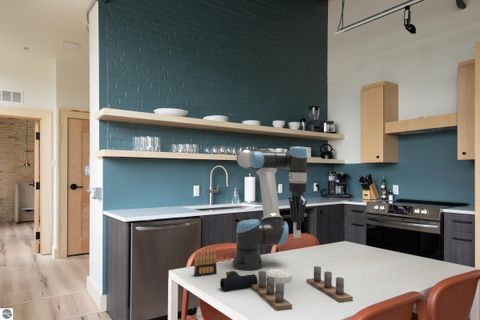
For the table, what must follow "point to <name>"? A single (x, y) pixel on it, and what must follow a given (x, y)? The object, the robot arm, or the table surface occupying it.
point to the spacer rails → (278, 298)
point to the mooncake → (279, 275)
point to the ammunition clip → (205, 264)
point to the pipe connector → (237, 281)
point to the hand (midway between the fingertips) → (296, 237)
